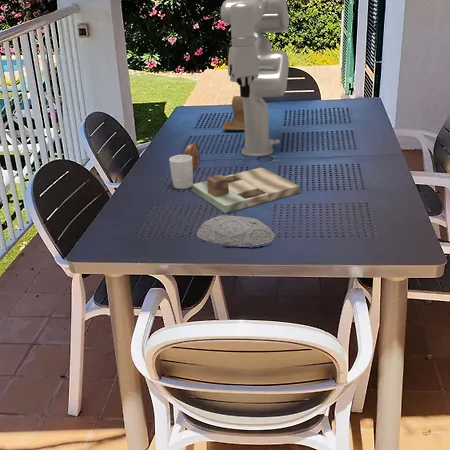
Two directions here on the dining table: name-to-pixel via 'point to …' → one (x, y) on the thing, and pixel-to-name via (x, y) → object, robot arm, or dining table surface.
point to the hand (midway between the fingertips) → (245, 96)
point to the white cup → (181, 171)
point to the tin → (193, 154)
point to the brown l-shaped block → (236, 115)
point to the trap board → (248, 190)
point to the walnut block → (217, 185)
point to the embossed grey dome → (235, 231)
